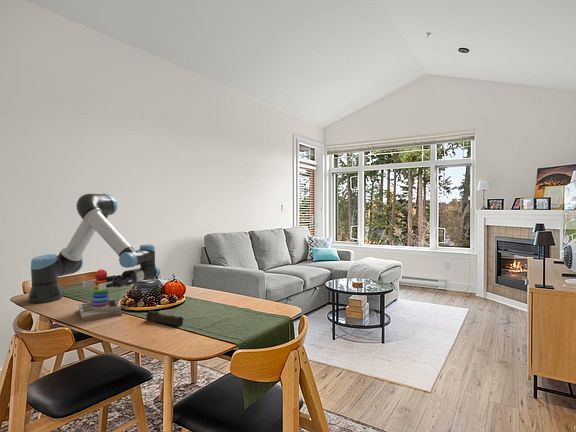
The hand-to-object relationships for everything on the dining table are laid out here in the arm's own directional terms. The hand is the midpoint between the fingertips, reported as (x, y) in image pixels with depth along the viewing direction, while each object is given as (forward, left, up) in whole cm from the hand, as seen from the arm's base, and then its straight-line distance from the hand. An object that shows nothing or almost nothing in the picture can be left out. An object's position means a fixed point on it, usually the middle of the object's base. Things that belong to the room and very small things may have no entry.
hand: (91, 286), depth 163 cm
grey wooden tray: (-2, +4, -13) cm, 14 cm away
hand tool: (+30, +24, -14) cm, 41 cm away
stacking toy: (-2, +4, -12) cm, 13 cm away
